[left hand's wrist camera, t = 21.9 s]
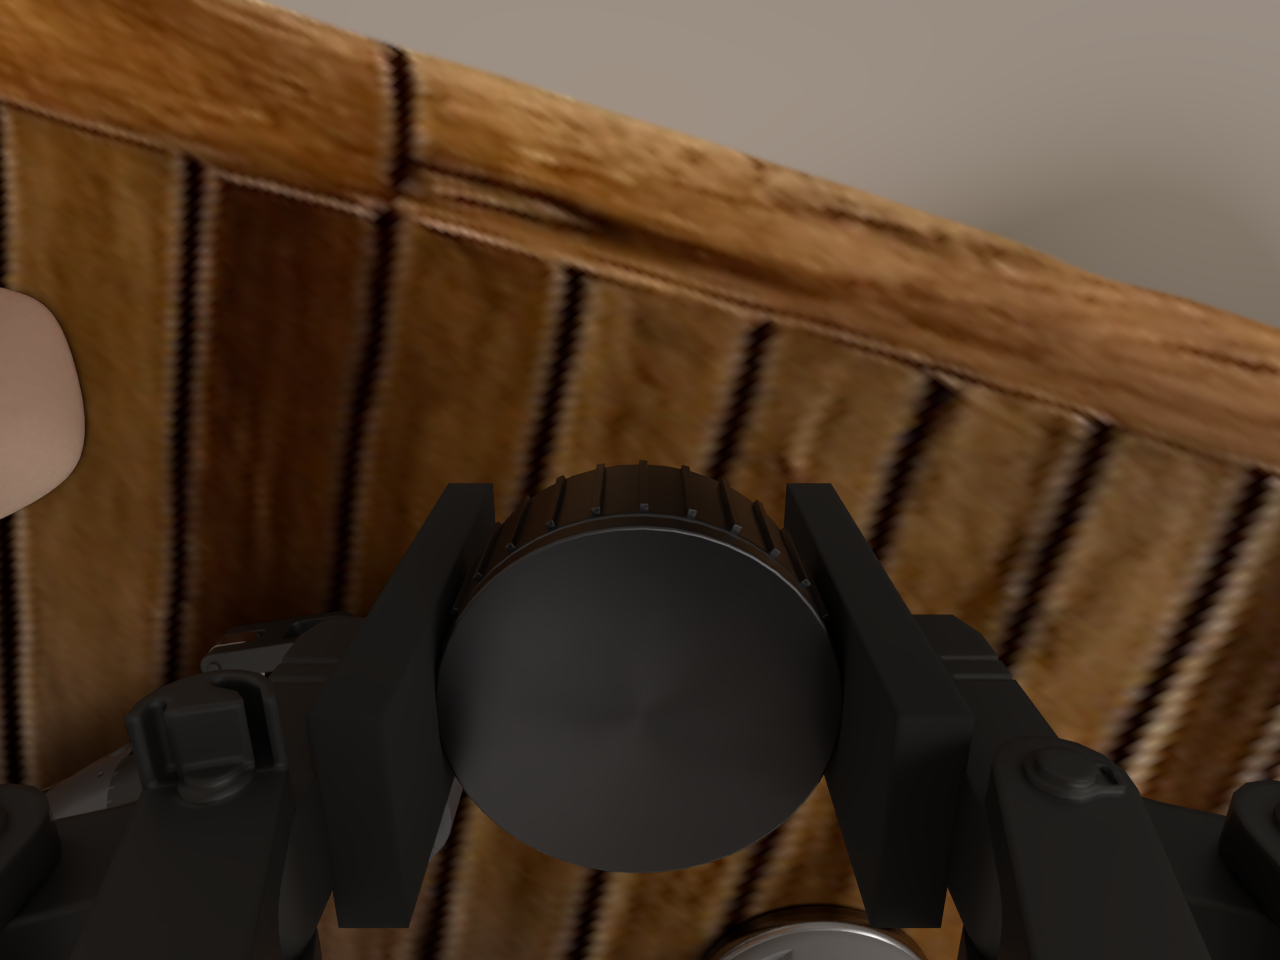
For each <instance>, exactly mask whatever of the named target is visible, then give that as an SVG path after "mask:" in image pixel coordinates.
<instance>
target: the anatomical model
mask: <svg viewBox="0 0 1280 960" xmlns="http://www.w3.org/2000/svg"><path fill="white" fill-rule="evenodd" d="M84 436H85V416H84V407H83V399H82V394H81V389H80V384H79V380H78V375H77V372H76V368H75V365H74V361H73V357H72V354H71V351H70V348H69V346H68V343H67V340H66V338H65V335H64V333H63V330H62V329H61V327H60V325H59V323H58V322H57V320H56V318H55V317H54V315H53V314H52V313H51V312H50V311H49V310H48V309H47V308H46V307H45V306H44V305H43V304H42V303H40V302H39V301H37V300H35V299H34V298H32V297H30V296H27V295H25V294H22V293H19V292H15V291H12V290H8V289H5V288H0V519H2V518H4V517H6V516H8V515H10V514H12V513H14V512H16V511H18V510H20V509H22V508H24V507H26V506H27V505H29V504H31V503H33V502H35V501H36V500H38V499H40V498H41V497H43V496H45V495H46V494H47V493H49V492H50V491H52V490H53V489H54V488H56V487H57V486H58V485H60V484H61V483H62V482H63V481H64V480H65V479H66V478H67V477H68V476H69V475H70V474H71V473H72V471H73V470H74V468H75V467H76V465H77V463H78V461H79V459H80V456H81V453H82V449H83V445H84Z"/></svg>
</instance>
